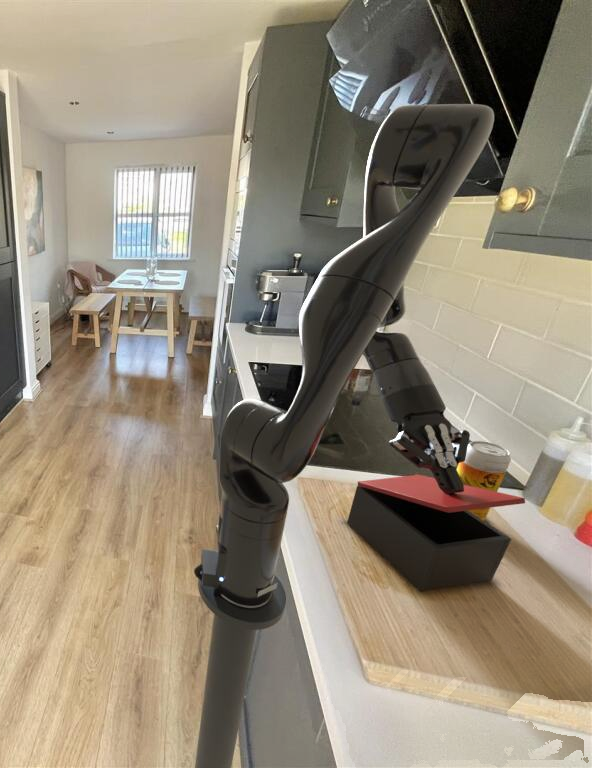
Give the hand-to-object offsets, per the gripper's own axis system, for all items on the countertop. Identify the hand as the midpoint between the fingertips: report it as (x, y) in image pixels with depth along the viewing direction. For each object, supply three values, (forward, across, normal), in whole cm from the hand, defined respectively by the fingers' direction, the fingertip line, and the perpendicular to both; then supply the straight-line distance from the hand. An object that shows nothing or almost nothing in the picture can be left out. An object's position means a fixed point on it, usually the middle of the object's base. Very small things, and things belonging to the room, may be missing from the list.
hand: (454, 492), depth 62 cm
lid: (0, 0, +4) cm, 4 cm away
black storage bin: (+8, 0, +12) cm, 15 cm away
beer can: (+4, +17, +17) cm, 24 cm away
